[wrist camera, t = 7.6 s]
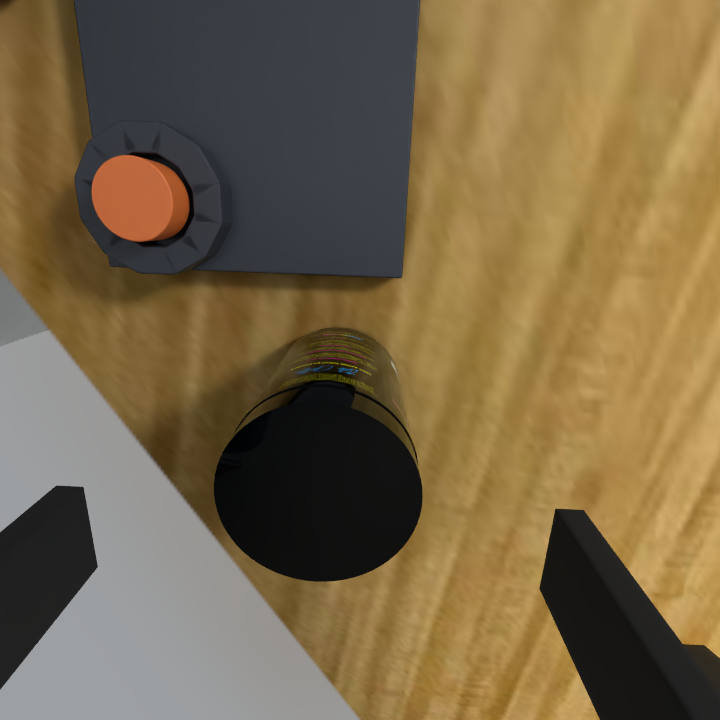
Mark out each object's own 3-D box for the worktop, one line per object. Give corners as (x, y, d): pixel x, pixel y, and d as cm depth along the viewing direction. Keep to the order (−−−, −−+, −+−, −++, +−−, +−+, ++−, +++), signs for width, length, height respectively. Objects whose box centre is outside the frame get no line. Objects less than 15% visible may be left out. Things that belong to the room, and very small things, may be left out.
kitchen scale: (123, 265, 22) (87, 271, 19) (72, -147, 17) (13, -220, 14) (399, 275, 22) (404, 283, 19) (426, -135, 17) (437, -205, 14)
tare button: (120, 238, 19) (97, 240, 18) (110, 159, 18) (84, 153, 17) (193, 241, 19) (176, 243, 18) (187, 162, 18) (168, 156, 17)
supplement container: (257, 345, 23) (176, 438, 13) (377, 306, 23) (387, 373, 13) (302, 452, 25) (261, 602, 15) (414, 419, 24) (447, 554, 15)
